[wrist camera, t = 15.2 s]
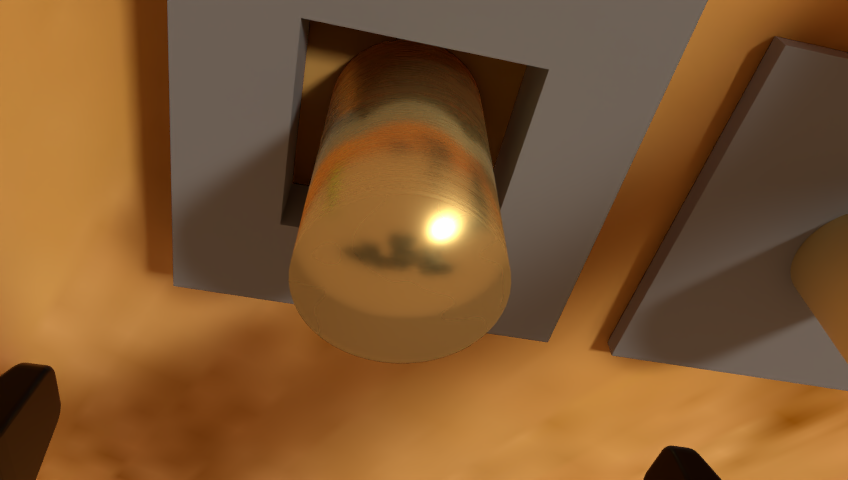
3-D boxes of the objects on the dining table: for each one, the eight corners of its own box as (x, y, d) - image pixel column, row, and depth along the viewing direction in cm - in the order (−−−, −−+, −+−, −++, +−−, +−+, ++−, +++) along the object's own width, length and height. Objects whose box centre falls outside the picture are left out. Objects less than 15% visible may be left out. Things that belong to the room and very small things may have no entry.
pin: (499, 57, 16) (540, 217, 11) (461, 188, 19) (478, 375, 13) (341, 23, 16) (300, 175, 10) (322, 163, 18) (280, 347, 13)
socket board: (689, -55, 15) (722, -31, 13) (538, 297, 21) (547, 342, 20) (193, -174, 13) (163, -163, 12) (193, 242, 20) (173, 285, 18)
